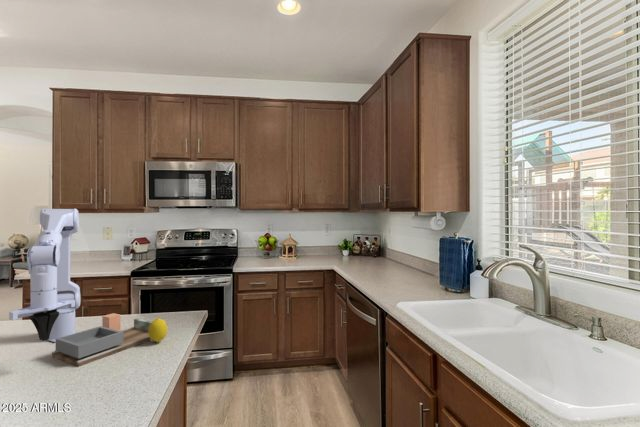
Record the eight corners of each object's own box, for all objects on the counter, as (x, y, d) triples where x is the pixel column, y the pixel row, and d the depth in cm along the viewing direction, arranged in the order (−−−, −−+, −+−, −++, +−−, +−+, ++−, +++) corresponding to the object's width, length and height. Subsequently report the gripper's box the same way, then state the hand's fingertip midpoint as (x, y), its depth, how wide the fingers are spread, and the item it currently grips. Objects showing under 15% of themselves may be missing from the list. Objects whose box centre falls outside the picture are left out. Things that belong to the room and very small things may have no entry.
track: (51, 356, 102) (51, 343, 102) (137, 329, 126) (137, 318, 126) (78, 366, 96) (78, 352, 96) (163, 335, 120) (163, 324, 120)
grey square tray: (55, 353, 102) (55, 338, 102) (100, 338, 114) (100, 326, 114) (78, 361, 97) (78, 346, 97) (123, 345, 108) (123, 331, 108)
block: (102, 332, 123) (102, 316, 123) (113, 329, 126) (113, 313, 126) (109, 334, 121) (109, 317, 121) (120, 331, 124) (120, 314, 124)
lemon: (160, 346, 110) (159, 321, 110) (144, 345, 111) (144, 320, 111) (170, 340, 116) (170, 316, 116) (156, 338, 117) (156, 315, 117)
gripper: (18, 296, 86) (18, 351, 86) (80, 285, 99) (81, 333, 99) (5, 293, 90) (5, 346, 90) (67, 283, 103) (67, 329, 103)
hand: (44, 339), depth 95 cm, fingers closed
